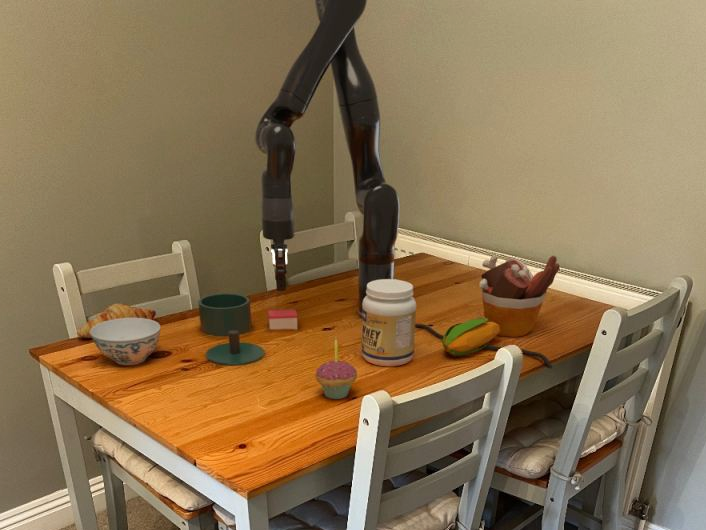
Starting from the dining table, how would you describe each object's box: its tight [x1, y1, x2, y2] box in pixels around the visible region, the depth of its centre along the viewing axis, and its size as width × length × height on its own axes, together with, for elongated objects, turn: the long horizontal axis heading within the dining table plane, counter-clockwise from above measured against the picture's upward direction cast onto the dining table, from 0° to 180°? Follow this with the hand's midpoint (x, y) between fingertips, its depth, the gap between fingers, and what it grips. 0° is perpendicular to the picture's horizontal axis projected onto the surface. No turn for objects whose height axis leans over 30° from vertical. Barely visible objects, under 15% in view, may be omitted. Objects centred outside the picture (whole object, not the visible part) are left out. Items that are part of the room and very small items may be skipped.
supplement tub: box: [361, 279, 417, 367], centre depth 169 cm, size 12×12×17 cm
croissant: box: [76, 302, 157, 339], centre depth 185 cm, size 21×10×8 cm, turn 136°
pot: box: [197, 292, 253, 338], centre depth 186 cm, size 12×12×8 cm
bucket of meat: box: [478, 254, 560, 338], centre depth 185 cm, size 20×16×20 cm
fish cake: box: [267, 309, 299, 331], centre depth 189 cm, size 7×4×4 cm, turn 98°
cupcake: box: [315, 335, 358, 400], centre depth 152 cm, size 9×8×12 cm
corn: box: [441, 317, 500, 357], centre depth 177 cm, size 7×8×20 cm
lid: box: [205, 330, 265, 367], centre depth 171 cm, size 13×13×6 cm
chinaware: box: [90, 318, 161, 366], centre depth 167 cm, size 15×15×8 cm
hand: (280, 285), depth 184 cm, fingers open, 8 cm apart
